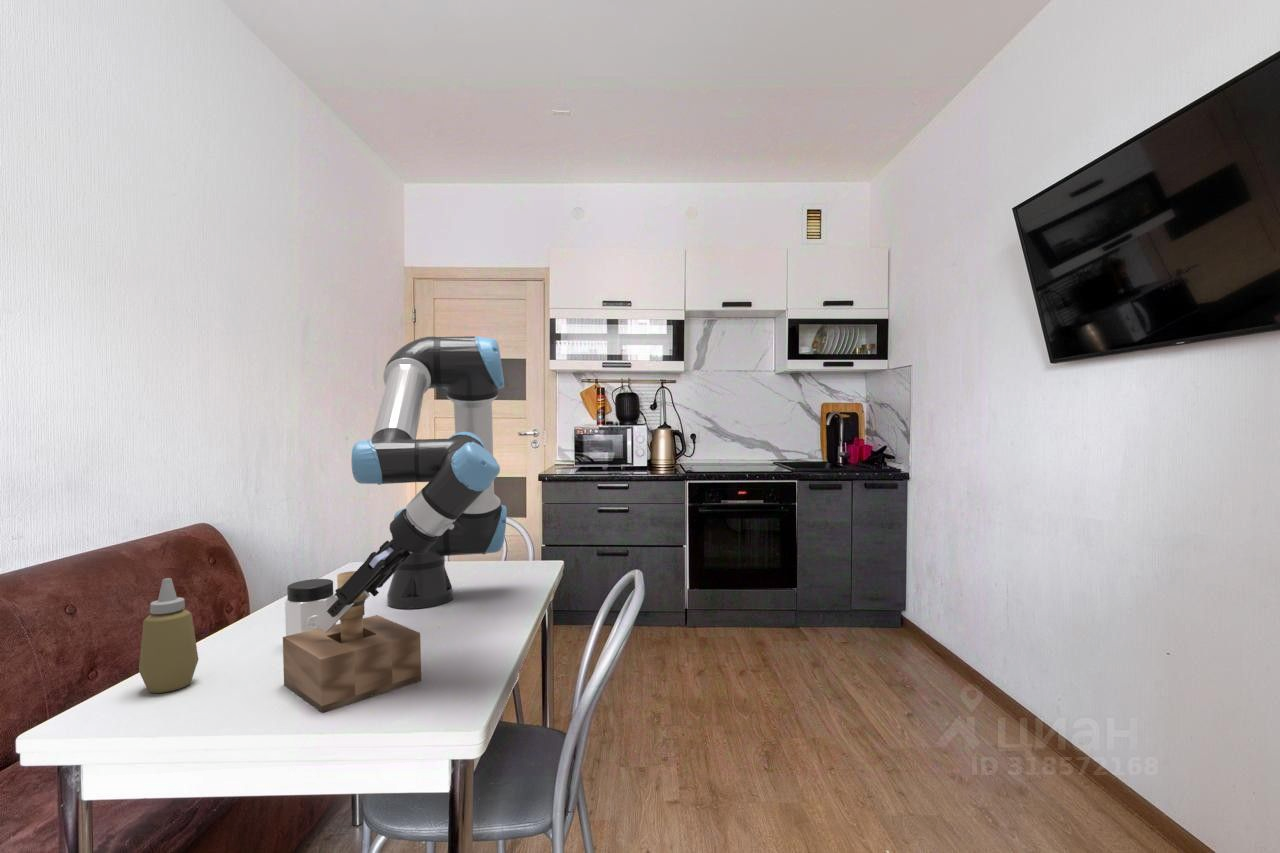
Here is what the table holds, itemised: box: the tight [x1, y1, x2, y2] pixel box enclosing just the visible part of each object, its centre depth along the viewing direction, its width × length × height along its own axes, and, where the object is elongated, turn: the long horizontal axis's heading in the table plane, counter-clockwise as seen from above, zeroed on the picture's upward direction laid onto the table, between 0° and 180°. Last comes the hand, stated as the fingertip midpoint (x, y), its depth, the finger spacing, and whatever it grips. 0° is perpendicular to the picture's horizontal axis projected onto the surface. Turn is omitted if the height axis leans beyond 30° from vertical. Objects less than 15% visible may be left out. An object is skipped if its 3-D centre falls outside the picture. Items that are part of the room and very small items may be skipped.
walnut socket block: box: [282, 614, 422, 713], centre depth 110 cm, size 16×16×8 cm
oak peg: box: [336, 570, 366, 643], centre depth 110 cm, size 4×4×12 cm
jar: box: [284, 578, 337, 636], centre depth 130 cm, size 9×8×12 cm
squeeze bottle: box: [138, 577, 199, 694], centre depth 110 cm, size 8×8×18 cm
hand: (330, 621), depth 110 cm, fingers open, 5 cm apart
